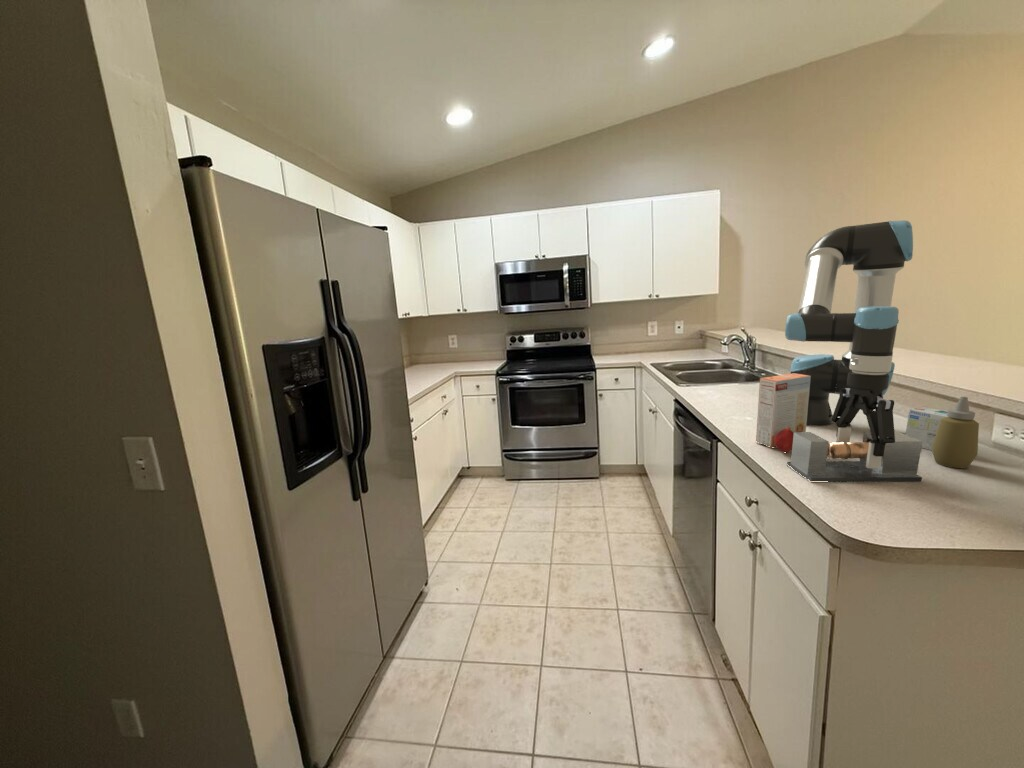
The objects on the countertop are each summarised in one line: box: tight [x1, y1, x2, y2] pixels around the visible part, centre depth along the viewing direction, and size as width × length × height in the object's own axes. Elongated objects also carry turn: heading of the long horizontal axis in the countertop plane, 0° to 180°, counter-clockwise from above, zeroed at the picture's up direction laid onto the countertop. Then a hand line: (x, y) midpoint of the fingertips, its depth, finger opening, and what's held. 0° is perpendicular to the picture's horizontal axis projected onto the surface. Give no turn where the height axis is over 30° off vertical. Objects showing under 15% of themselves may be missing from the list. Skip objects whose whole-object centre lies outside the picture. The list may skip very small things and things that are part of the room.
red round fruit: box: [774, 427, 794, 454], centre depth 116 cm, size 6×6×8 cm
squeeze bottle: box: [931, 396, 980, 469], centre depth 103 cm, size 8×8×18 cm
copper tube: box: [827, 441, 869, 460], centre depth 101 cm, size 4×18×4 cm, turn 85°
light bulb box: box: [905, 406, 948, 451], centre depth 115 cm, size 11×7×11 cm, turn 17°
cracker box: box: [755, 373, 811, 448], centre depth 123 cm, size 14×6×21 cm, turn 108°
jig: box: [786, 431, 923, 483], centre depth 101 cm, size 10×25×10 cm, turn 85°
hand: (856, 459), depth 101 cm, fingers open, 10 cm apart
